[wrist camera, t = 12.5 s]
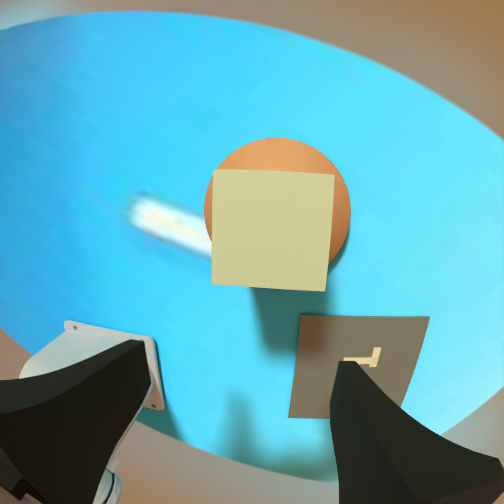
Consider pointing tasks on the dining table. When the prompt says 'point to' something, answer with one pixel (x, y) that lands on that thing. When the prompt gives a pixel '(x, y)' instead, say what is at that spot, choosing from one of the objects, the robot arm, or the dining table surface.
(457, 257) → the dining table surface
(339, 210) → the orange disc
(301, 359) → the brown tile
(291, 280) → the block
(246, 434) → the dining table surface
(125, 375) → the robot arm
